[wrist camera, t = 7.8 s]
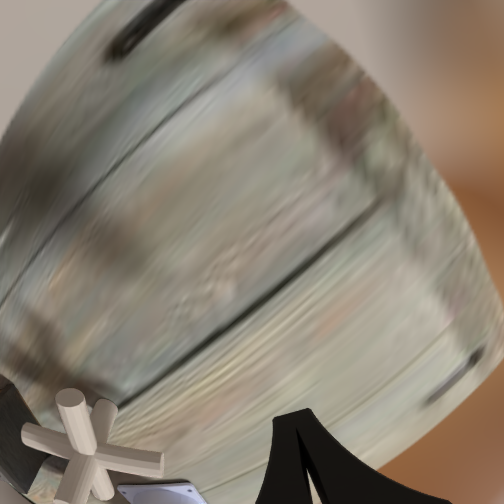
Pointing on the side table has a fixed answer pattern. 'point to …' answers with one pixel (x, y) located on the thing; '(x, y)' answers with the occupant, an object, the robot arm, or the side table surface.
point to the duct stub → (17, 442)
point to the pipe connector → (89, 449)
